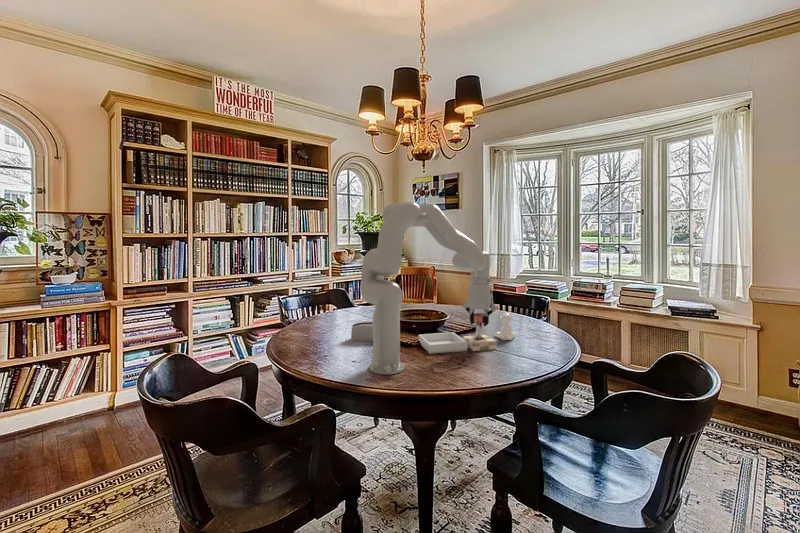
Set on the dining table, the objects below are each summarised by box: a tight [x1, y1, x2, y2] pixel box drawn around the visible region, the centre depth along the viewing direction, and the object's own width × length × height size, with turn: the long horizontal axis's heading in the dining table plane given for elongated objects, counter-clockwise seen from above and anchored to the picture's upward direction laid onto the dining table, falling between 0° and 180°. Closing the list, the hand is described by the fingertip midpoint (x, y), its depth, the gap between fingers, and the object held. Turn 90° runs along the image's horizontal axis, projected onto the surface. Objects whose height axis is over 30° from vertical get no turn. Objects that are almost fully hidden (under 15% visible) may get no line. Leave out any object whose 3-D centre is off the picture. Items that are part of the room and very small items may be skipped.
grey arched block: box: [350, 320, 373, 342], centre depth 177 cm, size 17×5×10 cm, turn 86°
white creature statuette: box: [494, 312, 516, 341], centre depth 178 cm, size 10×9×12 cm
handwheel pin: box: [473, 312, 485, 340], centre depth 166 cm, size 5×5×12 cm
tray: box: [418, 331, 468, 355], centre depth 167 cm, size 16×16×4 cm
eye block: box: [462, 334, 497, 352], centre depth 167 cm, size 10×10×4 cm
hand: (479, 324), depth 166 cm, fingers closed on handwheel pin, 5 cm apart
